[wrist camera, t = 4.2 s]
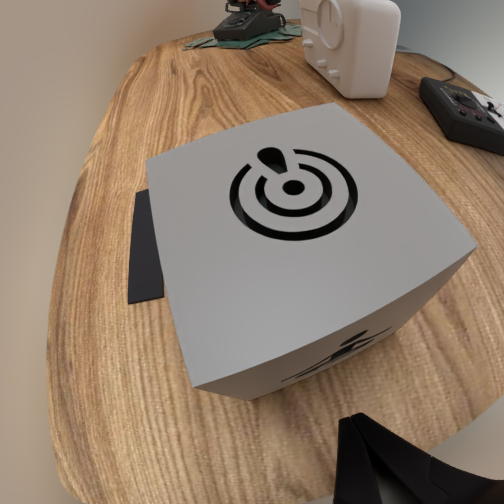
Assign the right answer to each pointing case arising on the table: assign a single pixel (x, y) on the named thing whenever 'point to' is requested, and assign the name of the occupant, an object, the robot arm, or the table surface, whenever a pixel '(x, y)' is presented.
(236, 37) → the telephone
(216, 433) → the table surface
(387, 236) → the icon cube
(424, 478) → the robot arm
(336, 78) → the radio
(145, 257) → the felt mark
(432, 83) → the multimeter
